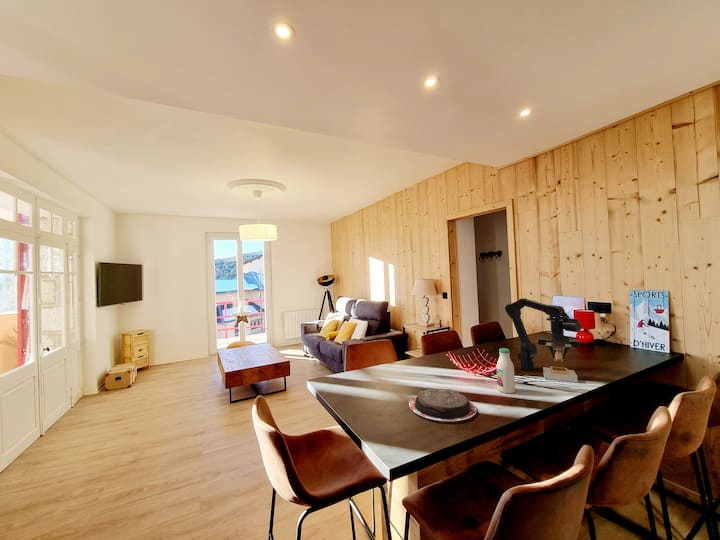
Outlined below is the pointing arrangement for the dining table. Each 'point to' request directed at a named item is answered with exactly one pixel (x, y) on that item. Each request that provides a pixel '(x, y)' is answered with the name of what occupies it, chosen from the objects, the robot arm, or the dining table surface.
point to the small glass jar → (558, 355)
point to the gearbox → (560, 374)
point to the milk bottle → (505, 372)
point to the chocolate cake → (442, 406)
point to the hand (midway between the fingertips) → (558, 358)
